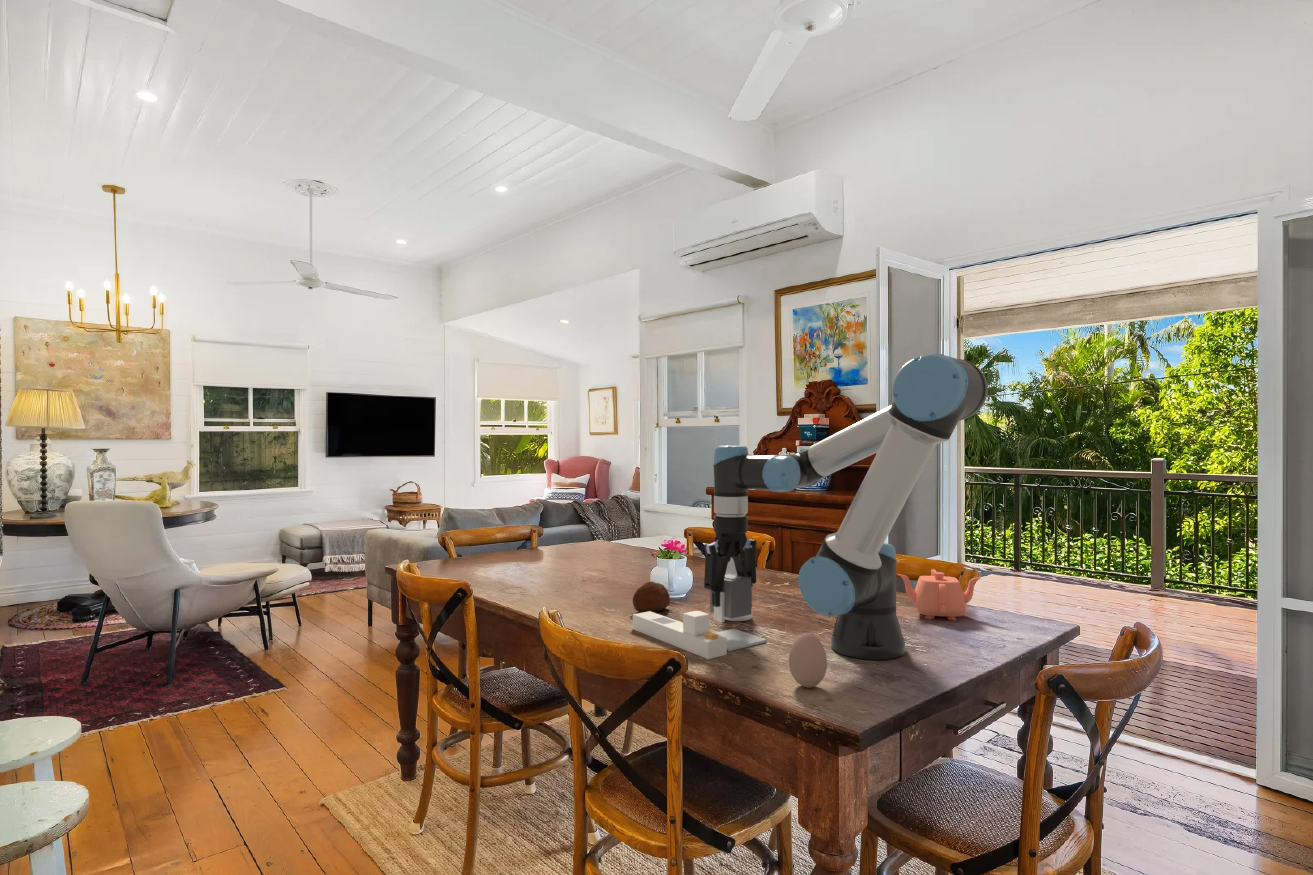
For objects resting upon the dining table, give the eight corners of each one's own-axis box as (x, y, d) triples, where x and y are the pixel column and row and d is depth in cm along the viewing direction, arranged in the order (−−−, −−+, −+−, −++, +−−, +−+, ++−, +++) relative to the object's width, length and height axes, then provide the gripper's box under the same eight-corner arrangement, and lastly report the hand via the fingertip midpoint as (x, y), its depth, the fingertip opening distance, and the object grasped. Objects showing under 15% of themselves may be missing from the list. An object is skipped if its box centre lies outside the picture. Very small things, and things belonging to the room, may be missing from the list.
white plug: (709, 632, 152) (709, 614, 152) (694, 636, 149) (694, 617, 149) (697, 628, 155) (697, 610, 155) (683, 631, 153) (683, 613, 153)
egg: (809, 696, 124) (809, 640, 124) (781, 685, 130) (780, 632, 130) (835, 688, 128) (834, 634, 128) (806, 677, 134) (806, 626, 134)
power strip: (726, 654, 148) (726, 634, 148) (708, 659, 145) (708, 638, 145) (650, 625, 171) (649, 607, 171) (632, 629, 168) (632, 610, 168)
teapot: (896, 614, 181) (896, 571, 181) (932, 606, 188) (932, 565, 188) (946, 626, 168) (946, 580, 168) (983, 618, 176) (982, 574, 176)
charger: (751, 614, 157) (751, 577, 157) (730, 618, 154) (730, 580, 154) (730, 607, 163) (730, 572, 163) (710, 611, 159) (710, 575, 159)
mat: (766, 642, 157) (766, 639, 157) (729, 651, 150) (729, 648, 150) (733, 631, 166) (733, 628, 166) (696, 639, 159) (696, 636, 159)
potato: (678, 610, 186) (678, 579, 186) (648, 618, 178) (647, 586, 178) (657, 605, 192) (657, 575, 192) (626, 613, 183) (626, 582, 183)
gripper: (750, 510, 166) (750, 608, 167) (686, 516, 156) (686, 621, 156) (773, 513, 160) (773, 615, 161) (708, 519, 149) (708, 629, 150)
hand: (730, 618), depth 158 cm, fingers closed on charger, 6 cm apart
